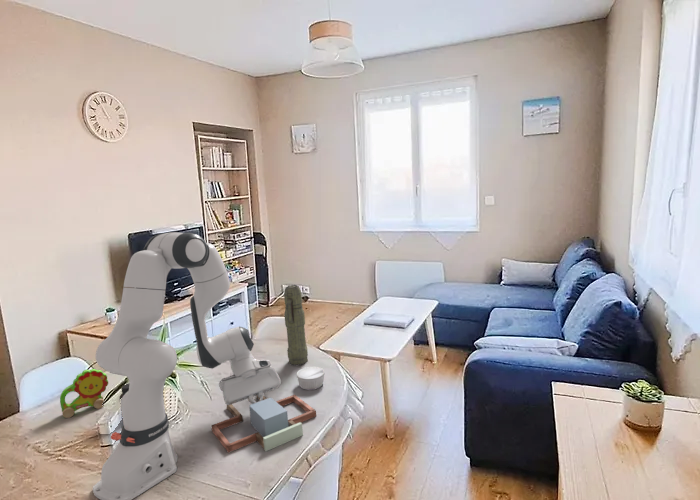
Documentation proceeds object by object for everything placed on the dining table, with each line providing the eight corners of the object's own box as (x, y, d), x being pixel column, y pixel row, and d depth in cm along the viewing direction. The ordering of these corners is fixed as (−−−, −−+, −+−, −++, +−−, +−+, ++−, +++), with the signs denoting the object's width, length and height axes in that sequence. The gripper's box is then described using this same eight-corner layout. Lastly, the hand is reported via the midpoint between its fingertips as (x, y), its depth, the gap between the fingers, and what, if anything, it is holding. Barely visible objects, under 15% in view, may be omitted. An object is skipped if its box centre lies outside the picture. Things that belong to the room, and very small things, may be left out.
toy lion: (63, 420, 157) (56, 380, 154) (62, 414, 161) (55, 375, 159) (112, 405, 166) (106, 367, 163) (110, 399, 170) (104, 363, 168)
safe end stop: (264, 449, 132) (263, 437, 131) (301, 433, 139) (300, 422, 138) (266, 451, 131) (264, 439, 130) (303, 435, 138) (302, 423, 137)
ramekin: (321, 392, 166) (320, 379, 165) (293, 390, 169) (292, 378, 168) (328, 378, 177) (327, 366, 176) (302, 378, 179) (301, 366, 179)
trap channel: (201, 417, 153) (200, 411, 153) (281, 388, 170) (280, 384, 170) (235, 462, 127) (234, 455, 126) (325, 423, 144) (324, 417, 144)
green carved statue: (285, 367, 191) (278, 290, 185) (291, 356, 202) (285, 283, 197) (305, 366, 190) (299, 289, 184) (310, 356, 201) (304, 282, 196)
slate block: (251, 424, 146) (249, 405, 145) (272, 416, 151) (270, 397, 150) (266, 440, 137) (264, 419, 135) (288, 430, 141) (287, 410, 140)
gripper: (218, 376, 147) (232, 414, 140) (273, 359, 158) (288, 393, 152) (215, 384, 151) (228, 421, 144) (269, 366, 163) (283, 400, 156)
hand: (259, 407), depth 148 cm, fingers closed, pressing on slate block
